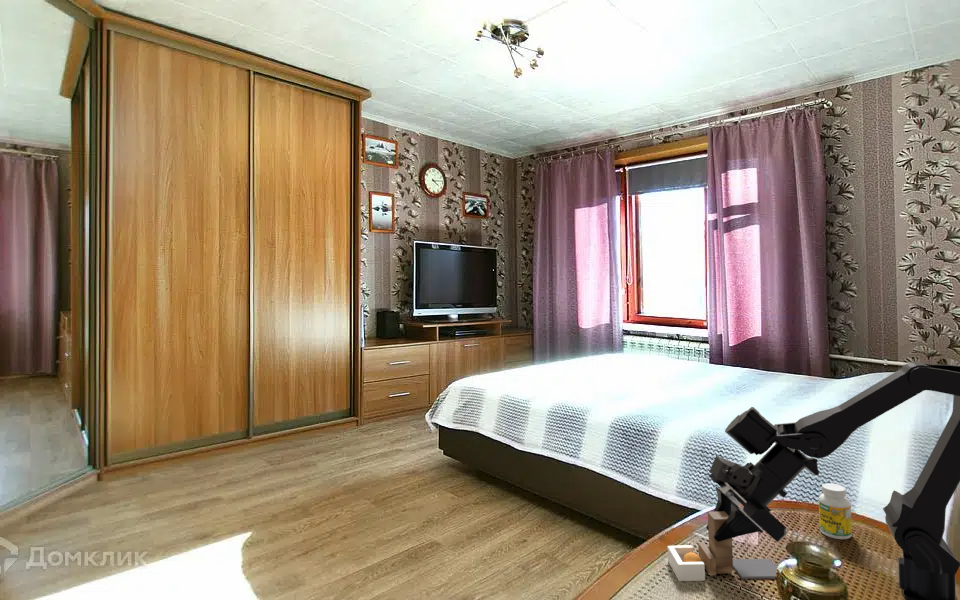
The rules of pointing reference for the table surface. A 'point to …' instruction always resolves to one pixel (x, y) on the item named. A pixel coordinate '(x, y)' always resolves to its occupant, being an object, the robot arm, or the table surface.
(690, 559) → the ball
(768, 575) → the grey flat plate
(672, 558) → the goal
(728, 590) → the table surface
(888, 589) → the table surface
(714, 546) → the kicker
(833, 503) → the supplement bottle
